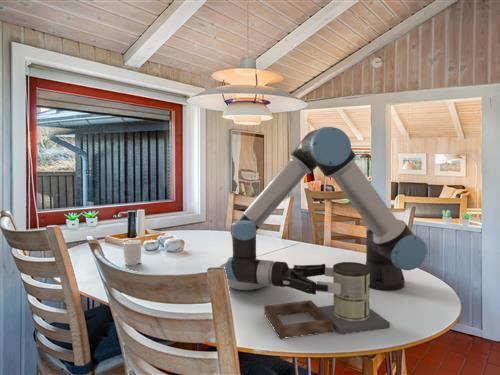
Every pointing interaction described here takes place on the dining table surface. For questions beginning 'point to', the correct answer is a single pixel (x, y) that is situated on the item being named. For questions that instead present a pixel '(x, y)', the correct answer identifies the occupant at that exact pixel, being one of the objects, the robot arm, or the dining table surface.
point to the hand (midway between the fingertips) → (343, 280)
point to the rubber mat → (349, 327)
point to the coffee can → (352, 291)
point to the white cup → (132, 251)
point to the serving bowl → (242, 284)
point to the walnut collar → (298, 328)
